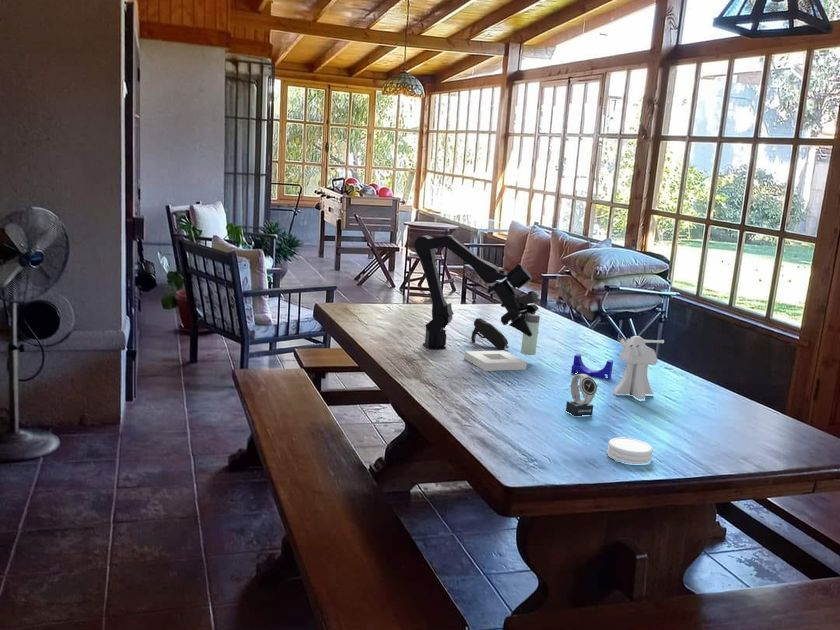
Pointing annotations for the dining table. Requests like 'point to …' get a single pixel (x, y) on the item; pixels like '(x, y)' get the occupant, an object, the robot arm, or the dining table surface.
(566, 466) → the dining table surface
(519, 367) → the housing
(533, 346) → the capped bottle
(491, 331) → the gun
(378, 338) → the dining table surface
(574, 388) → the watch
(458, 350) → the dining table surface
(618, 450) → the coaster
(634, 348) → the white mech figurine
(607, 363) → the blue cradle stand
